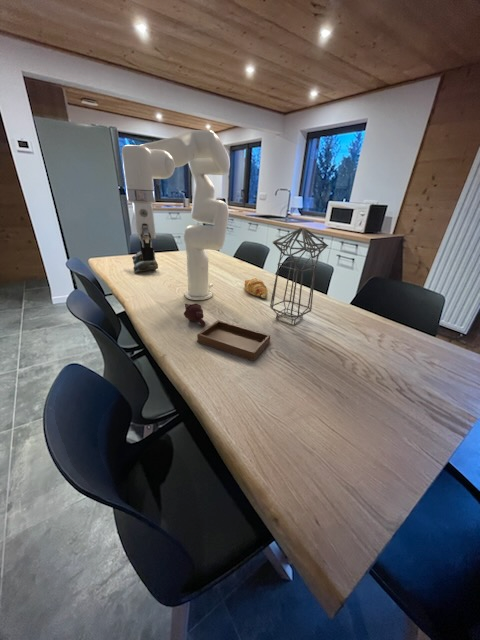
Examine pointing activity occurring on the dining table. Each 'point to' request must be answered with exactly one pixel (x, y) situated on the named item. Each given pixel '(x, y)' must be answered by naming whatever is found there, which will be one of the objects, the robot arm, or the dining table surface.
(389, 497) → the dining table surface
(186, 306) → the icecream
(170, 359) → the dining table surface
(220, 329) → the tray
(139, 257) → the grey lumpy block
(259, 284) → the croissant
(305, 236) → the geometric lantern
